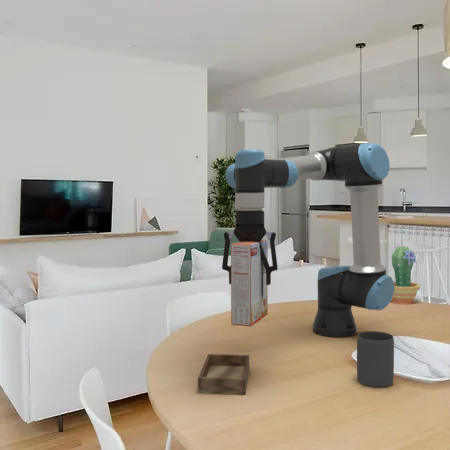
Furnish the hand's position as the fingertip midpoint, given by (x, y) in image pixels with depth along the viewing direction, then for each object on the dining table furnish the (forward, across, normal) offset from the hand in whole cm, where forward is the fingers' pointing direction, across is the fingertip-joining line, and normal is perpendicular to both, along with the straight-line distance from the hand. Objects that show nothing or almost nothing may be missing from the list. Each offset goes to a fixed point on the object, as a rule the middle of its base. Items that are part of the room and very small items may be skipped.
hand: (249, 296), depth 130 cm
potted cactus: (+21, -65, -98) cm, 119 cm away
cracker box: (+6, 0, 0) cm, 6 cm away
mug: (+22, -33, -2) cm, 39 cm away
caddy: (+22, +6, +2) cm, 23 cm away
